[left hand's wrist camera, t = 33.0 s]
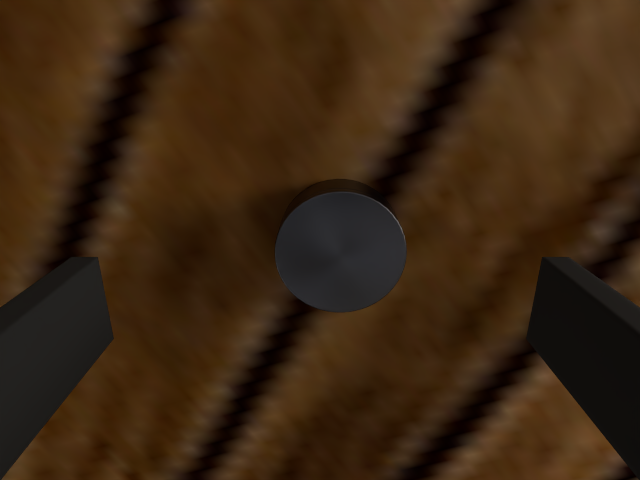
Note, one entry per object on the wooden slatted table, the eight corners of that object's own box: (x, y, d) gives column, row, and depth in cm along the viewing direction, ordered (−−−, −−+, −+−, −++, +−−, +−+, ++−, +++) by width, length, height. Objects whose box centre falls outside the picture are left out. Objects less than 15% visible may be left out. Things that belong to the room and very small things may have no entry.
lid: (405, 279, 16) (414, 301, 15) (294, 298, 17) (290, 321, 15) (390, 167, 15) (397, 179, 13) (267, 191, 15) (260, 205, 13)
